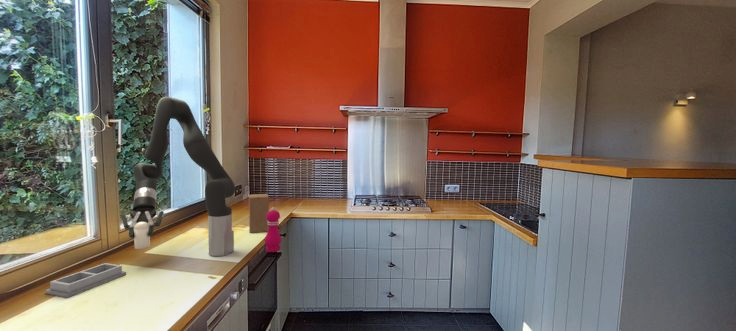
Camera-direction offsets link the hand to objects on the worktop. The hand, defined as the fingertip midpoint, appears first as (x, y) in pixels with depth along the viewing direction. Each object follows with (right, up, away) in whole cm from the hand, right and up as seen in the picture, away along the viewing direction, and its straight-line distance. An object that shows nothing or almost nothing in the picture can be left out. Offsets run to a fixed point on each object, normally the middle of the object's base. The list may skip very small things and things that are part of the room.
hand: (141, 236), depth 109 cm
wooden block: (+26, -10, +51) cm, 58 cm away
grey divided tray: (-6, -12, -14) cm, 20 cm away
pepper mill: (+44, -12, +21) cm, 50 cm away
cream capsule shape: (-1, -5, +2) cm, 5 cm away
